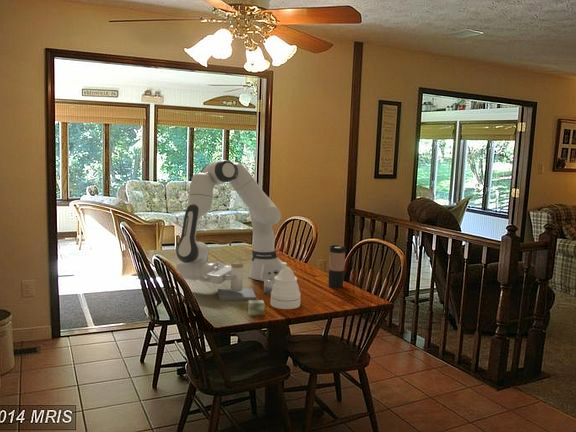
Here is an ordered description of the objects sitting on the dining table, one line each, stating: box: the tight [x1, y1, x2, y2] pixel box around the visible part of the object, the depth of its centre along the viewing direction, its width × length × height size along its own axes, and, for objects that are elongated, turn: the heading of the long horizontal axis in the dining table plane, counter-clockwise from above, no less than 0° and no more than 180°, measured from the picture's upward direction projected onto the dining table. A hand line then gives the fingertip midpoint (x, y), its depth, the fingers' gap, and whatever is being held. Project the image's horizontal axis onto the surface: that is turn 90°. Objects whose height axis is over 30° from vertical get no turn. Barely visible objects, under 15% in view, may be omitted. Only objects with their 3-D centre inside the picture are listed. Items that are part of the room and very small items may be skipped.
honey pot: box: [270, 261, 302, 310], centre depth 219 cm, size 13×13×18 cm
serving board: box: [217, 287, 257, 301], centre depth 230 cm, size 16×14×1 cm
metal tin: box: [263, 278, 276, 295], centre depth 236 cm, size 6×6×6 cm
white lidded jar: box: [230, 261, 244, 292], centre depth 229 cm, size 5×5×12 cm
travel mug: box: [327, 244, 346, 289], centre depth 250 cm, size 8×8×20 cm
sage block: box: [247, 299, 265, 316], centre depth 206 cm, size 6×4×5 cm, turn 101°
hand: (238, 276), depth 228 cm, fingers closed on white lidded jar, 5 cm apart
